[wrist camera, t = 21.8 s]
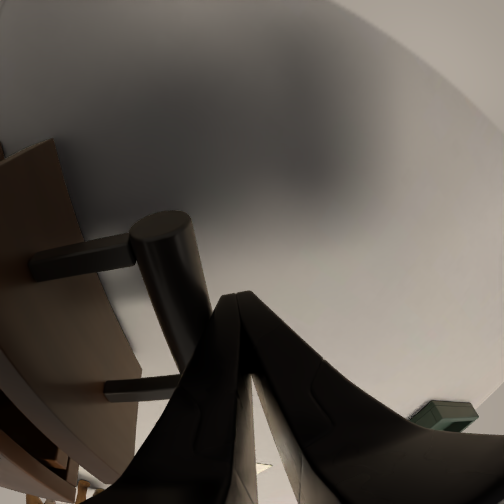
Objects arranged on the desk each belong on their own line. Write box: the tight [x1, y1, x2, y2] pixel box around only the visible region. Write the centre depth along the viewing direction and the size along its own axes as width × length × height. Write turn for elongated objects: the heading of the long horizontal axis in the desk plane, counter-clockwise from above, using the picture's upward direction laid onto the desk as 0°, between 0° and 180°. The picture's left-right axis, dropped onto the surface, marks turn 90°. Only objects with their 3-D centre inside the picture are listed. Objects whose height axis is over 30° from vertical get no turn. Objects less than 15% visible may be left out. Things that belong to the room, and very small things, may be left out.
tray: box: [409, 401, 479, 433], centre depth 25 cm, size 13×9×2 cm
